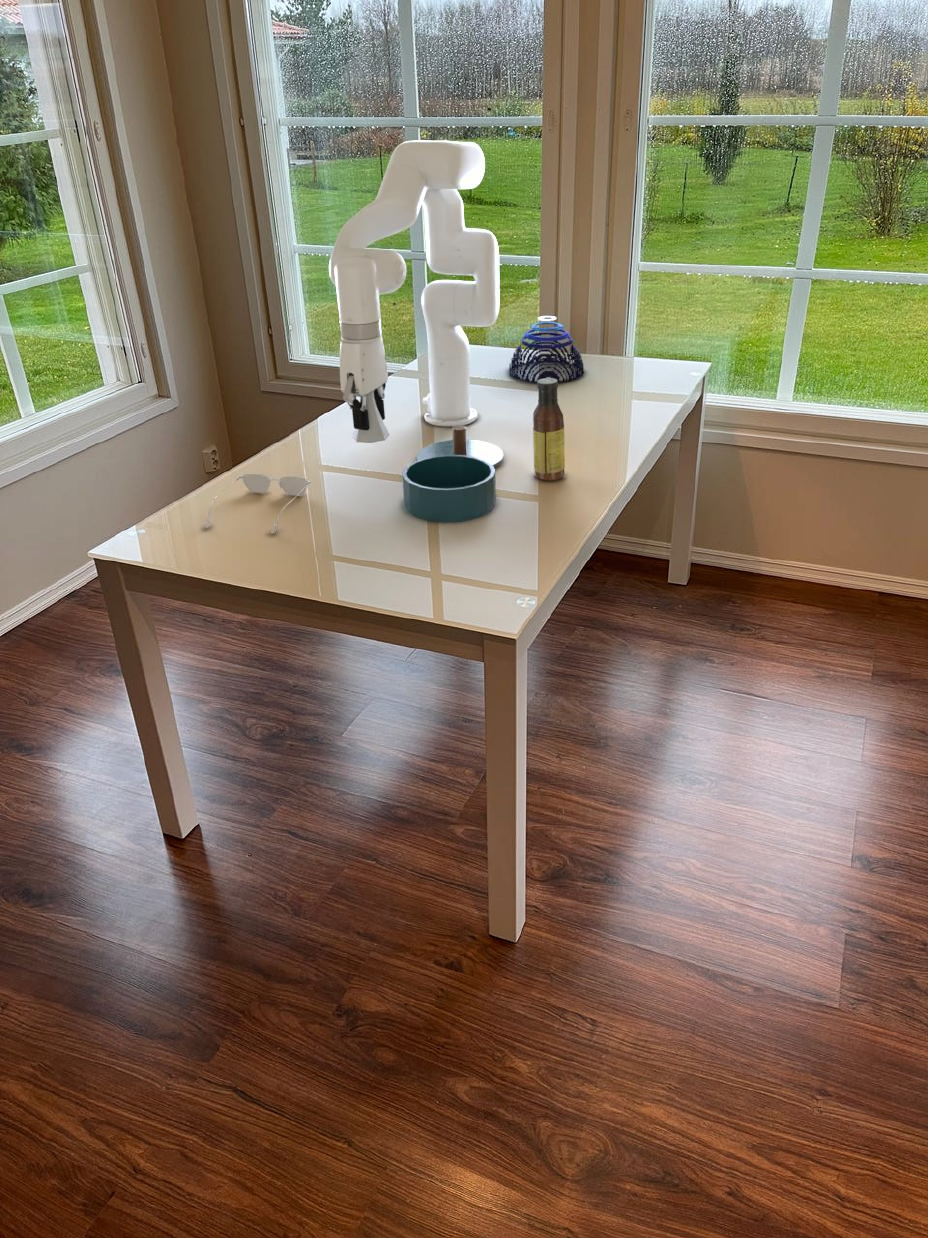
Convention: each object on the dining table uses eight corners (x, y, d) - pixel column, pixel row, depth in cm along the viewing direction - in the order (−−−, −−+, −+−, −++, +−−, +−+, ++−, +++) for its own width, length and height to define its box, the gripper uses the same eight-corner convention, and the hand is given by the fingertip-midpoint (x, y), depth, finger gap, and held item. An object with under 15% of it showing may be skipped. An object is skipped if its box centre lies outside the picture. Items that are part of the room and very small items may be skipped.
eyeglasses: (313, 495, 189) (311, 477, 186) (278, 535, 173) (275, 515, 171) (241, 490, 192) (238, 472, 190) (201, 528, 177) (197, 509, 175)
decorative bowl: (587, 382, 248) (589, 326, 240) (510, 384, 248) (510, 328, 241) (580, 361, 265) (582, 308, 257) (508, 362, 265) (508, 310, 258)
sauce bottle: (567, 472, 196) (570, 376, 185) (560, 483, 191) (562, 386, 180) (536, 468, 198) (538, 374, 187) (528, 480, 193) (529, 383, 182)
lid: (399, 461, 203) (397, 428, 200) (461, 438, 214) (460, 407, 211) (458, 484, 192) (457, 450, 188) (521, 458, 203) (521, 426, 199)
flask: (352, 432, 188) (347, 382, 183) (389, 429, 189) (385, 380, 183) (352, 445, 182) (346, 395, 177) (389, 443, 182) (385, 392, 177)
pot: (385, 503, 184) (383, 472, 181) (451, 478, 195) (450, 448, 191) (447, 530, 173) (446, 497, 170) (513, 501, 183) (514, 470, 180)
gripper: (367, 316, 182) (375, 407, 192) (318, 340, 169) (329, 436, 179) (401, 319, 179) (407, 412, 189) (354, 344, 166) (363, 441, 176)
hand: (369, 423), depth 184 cm, fingers closed on flask, 5 cm apart
